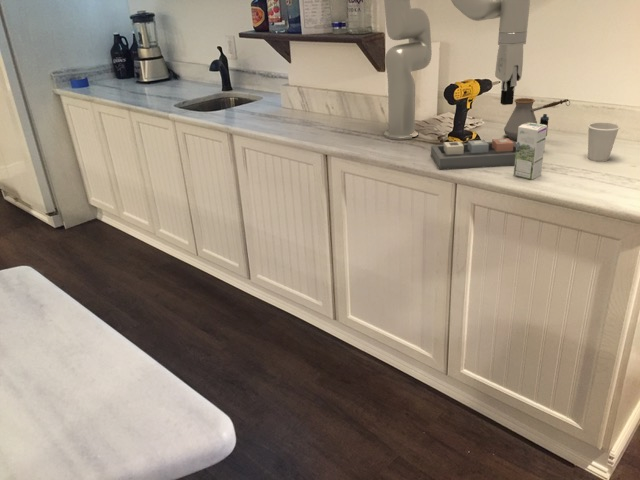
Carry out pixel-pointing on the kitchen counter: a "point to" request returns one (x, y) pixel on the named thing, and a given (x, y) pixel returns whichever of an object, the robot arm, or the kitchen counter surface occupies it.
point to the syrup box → (530, 150)
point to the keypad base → (472, 158)
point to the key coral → (502, 145)
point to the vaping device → (544, 121)
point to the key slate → (478, 146)
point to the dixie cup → (601, 140)
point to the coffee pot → (524, 115)
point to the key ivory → (453, 148)
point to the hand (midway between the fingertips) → (506, 103)
